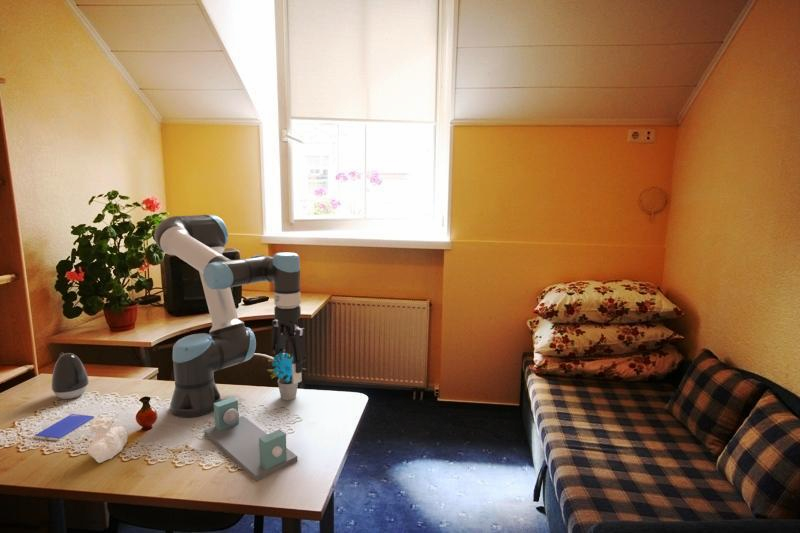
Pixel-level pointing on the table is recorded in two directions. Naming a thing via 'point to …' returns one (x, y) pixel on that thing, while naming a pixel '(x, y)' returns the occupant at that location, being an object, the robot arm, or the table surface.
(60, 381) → the dark grey egg shape
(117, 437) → the white irregular lump
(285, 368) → the gear
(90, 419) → the hard drive
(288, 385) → the house plant
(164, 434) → the table surface
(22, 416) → the table surface
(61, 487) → the table surface
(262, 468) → the shaft stand
